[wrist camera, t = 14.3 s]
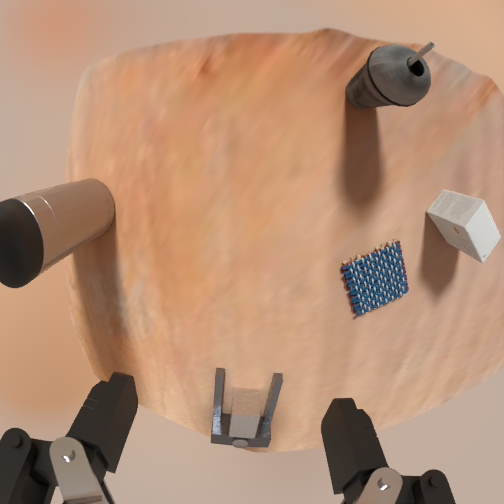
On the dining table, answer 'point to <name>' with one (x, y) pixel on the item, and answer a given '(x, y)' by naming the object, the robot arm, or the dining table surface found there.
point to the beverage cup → (391, 78)
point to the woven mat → (376, 277)
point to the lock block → (244, 413)
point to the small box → (465, 223)
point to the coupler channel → (223, 420)
